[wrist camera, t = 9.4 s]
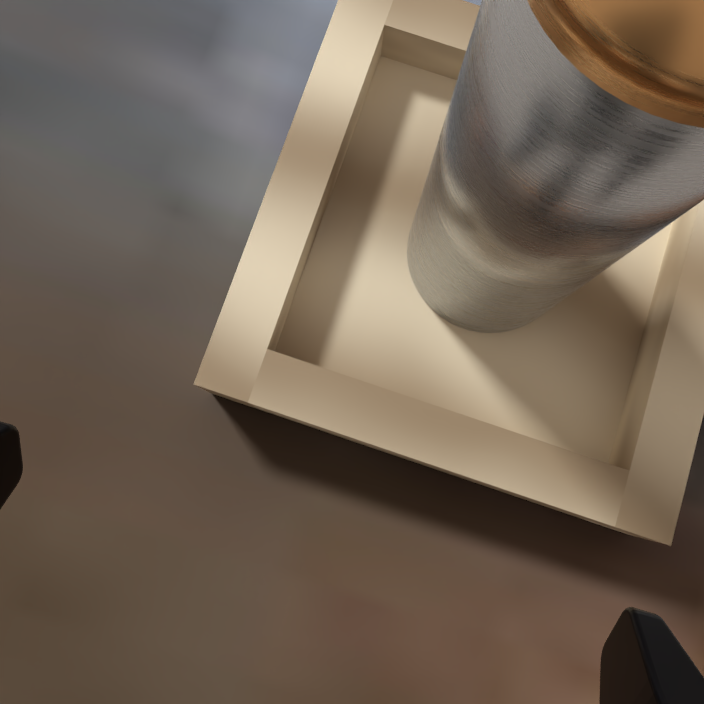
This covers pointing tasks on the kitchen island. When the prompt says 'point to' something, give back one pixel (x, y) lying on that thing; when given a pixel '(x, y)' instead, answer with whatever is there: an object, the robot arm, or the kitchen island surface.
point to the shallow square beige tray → (437, 333)
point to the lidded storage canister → (558, 153)
